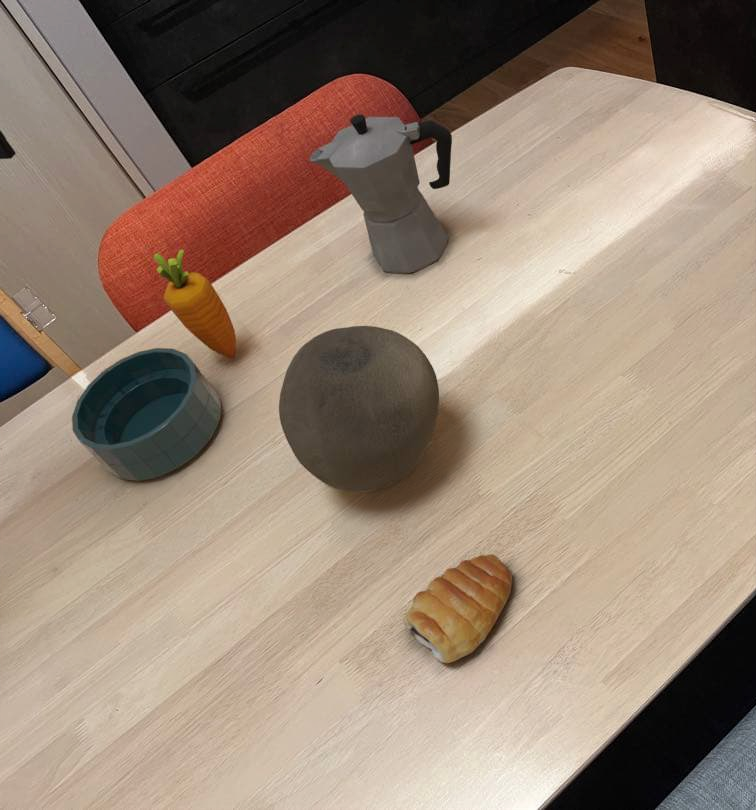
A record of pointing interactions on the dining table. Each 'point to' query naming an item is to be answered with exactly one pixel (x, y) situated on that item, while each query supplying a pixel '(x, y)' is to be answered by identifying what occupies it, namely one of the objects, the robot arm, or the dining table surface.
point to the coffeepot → (391, 186)
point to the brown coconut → (359, 407)
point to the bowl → (147, 414)
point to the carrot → (197, 306)
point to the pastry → (460, 607)
